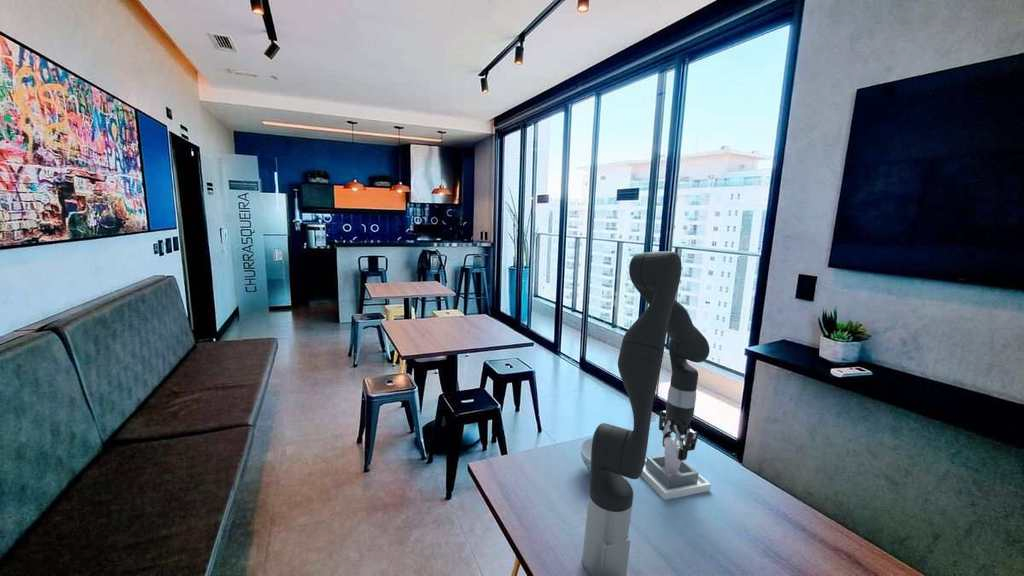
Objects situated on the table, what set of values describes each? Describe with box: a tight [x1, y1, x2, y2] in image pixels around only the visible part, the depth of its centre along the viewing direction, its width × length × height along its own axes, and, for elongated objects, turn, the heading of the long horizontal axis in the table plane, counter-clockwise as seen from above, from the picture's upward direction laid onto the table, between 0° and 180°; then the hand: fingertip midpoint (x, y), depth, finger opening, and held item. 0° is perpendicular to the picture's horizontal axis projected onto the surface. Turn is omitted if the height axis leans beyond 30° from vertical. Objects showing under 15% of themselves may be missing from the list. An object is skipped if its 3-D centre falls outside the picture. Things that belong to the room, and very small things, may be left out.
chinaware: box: [579, 437, 593, 472], centre depth 123 cm, size 15×15×8 cm
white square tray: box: [640, 453, 712, 501], centre depth 123 cm, size 15×16×5 cm
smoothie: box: [664, 435, 685, 475], centre depth 121 cm, size 6×6×14 cm
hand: (673, 452), depth 121 cm, fingers closed on smoothie, 6 cm apart
